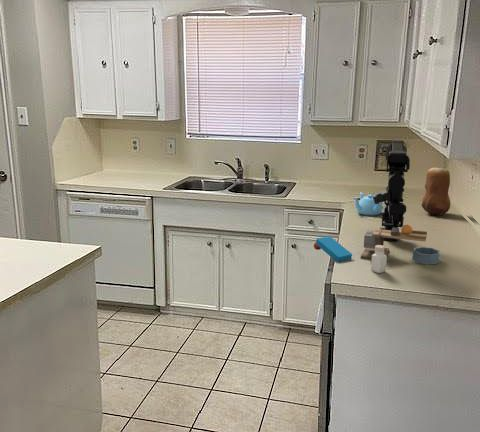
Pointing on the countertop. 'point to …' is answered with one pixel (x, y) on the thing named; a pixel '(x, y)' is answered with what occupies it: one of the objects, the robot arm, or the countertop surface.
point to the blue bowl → (426, 255)
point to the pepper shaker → (378, 260)
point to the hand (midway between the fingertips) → (393, 224)
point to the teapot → (368, 206)
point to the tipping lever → (392, 236)
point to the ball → (406, 229)
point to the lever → (332, 248)
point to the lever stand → (369, 251)
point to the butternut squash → (437, 191)
